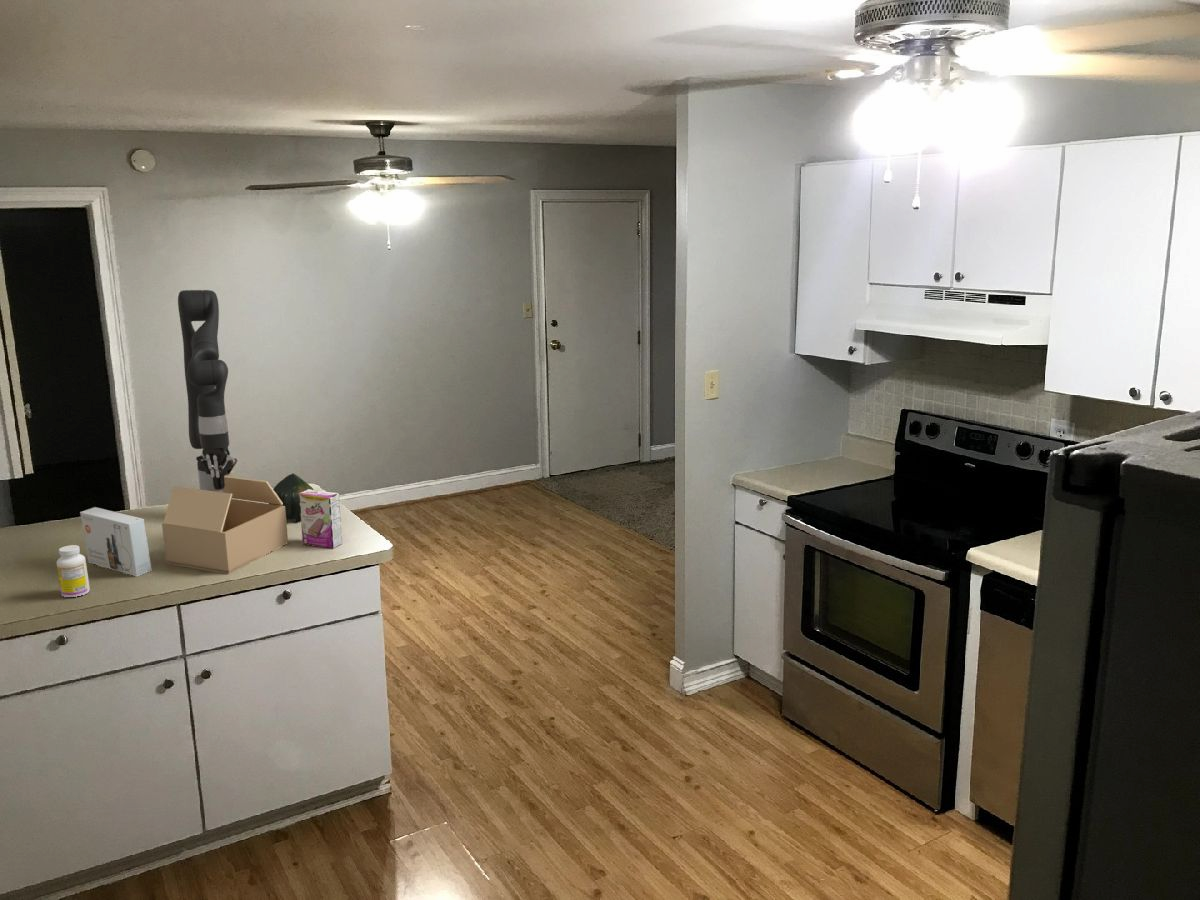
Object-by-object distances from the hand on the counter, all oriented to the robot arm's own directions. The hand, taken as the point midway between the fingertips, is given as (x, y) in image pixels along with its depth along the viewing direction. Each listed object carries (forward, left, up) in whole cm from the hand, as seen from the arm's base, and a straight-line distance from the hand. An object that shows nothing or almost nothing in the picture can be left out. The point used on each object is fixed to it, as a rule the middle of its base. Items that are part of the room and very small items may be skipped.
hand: (219, 489), depth 270 cm
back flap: (0, +11, -4) cm, 12 cm away
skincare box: (-21, -19, -21) cm, 35 cm away
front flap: (0, -9, -3) cm, 9 cm away
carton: (0, +1, -20) cm, 20 cm away
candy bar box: (+21, +17, -21) cm, 34 cm away
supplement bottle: (-17, -37, -20) cm, 45 cm away
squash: (-3, +35, -21) cm, 41 cm away
